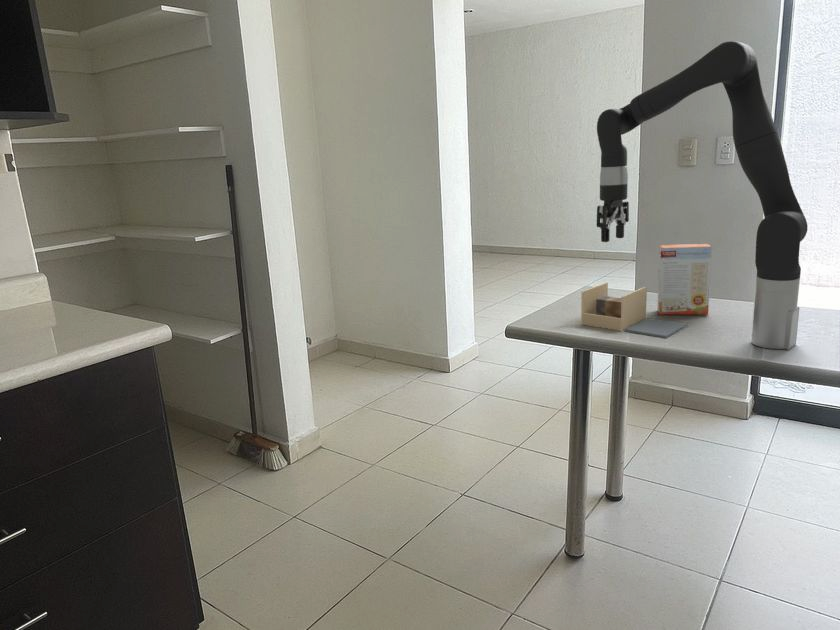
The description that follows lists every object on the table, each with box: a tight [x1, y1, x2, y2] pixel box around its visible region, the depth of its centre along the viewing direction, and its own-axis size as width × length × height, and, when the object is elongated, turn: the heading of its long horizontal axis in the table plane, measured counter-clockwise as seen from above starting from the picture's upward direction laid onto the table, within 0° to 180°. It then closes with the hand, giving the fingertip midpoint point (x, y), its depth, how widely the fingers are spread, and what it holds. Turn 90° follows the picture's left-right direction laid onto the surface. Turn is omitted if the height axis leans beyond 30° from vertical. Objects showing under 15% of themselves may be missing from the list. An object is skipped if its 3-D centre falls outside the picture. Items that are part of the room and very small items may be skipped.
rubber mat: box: [624, 317, 689, 339], centre depth 171 cm, size 12×14×1 cm
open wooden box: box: [580, 281, 648, 332], centre depth 179 cm, size 13×15×10 cm
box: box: [596, 295, 621, 318], centre depth 179 cm, size 9×5×7 cm, turn 45°
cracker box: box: [657, 243, 712, 316], centre depth 183 cm, size 14×6×21 cm, turn 74°
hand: (612, 239), depth 176 cm, fingers open, 8 cm apart
